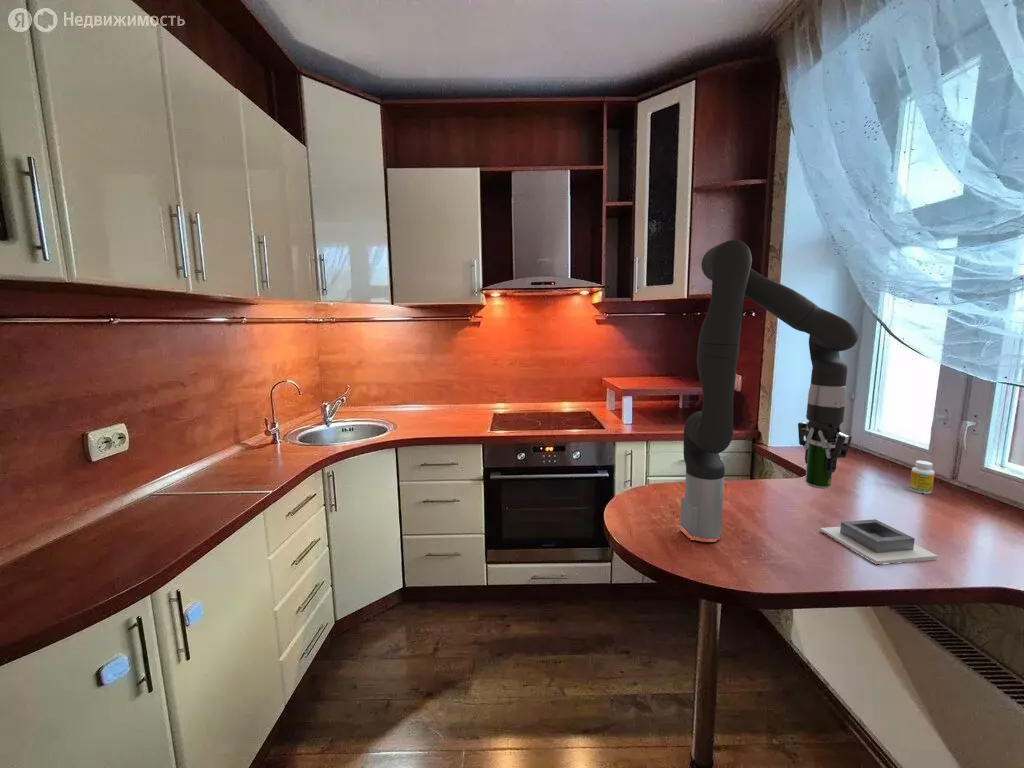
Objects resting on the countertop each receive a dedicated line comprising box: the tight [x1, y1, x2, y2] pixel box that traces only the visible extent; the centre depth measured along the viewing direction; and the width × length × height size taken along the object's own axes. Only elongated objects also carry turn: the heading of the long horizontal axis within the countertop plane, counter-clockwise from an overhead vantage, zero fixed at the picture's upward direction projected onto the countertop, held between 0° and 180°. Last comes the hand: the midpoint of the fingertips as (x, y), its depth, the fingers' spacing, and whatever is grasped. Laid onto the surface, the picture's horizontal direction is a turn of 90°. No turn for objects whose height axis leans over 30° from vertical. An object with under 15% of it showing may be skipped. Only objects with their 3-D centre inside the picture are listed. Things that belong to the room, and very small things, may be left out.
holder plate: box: [819, 525, 939, 564], centre depth 108 cm, size 16×16×1 cm
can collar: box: [840, 518, 915, 553], centre depth 108 cm, size 10×10×3 cm
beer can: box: [804, 438, 834, 490], centre depth 109 cm, size 5×5×12 cm
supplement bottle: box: [908, 460, 935, 495], centre depth 139 cm, size 5×5×10 cm
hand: (819, 467), depth 109 cm, fingers closed on beer can, 5 cm apart
